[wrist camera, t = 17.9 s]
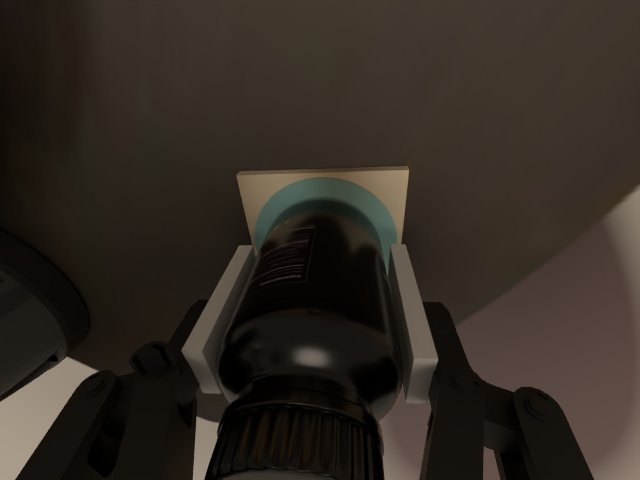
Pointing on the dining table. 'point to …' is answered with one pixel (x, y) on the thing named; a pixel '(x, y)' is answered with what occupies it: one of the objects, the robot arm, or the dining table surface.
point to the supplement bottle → (309, 353)
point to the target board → (327, 197)
